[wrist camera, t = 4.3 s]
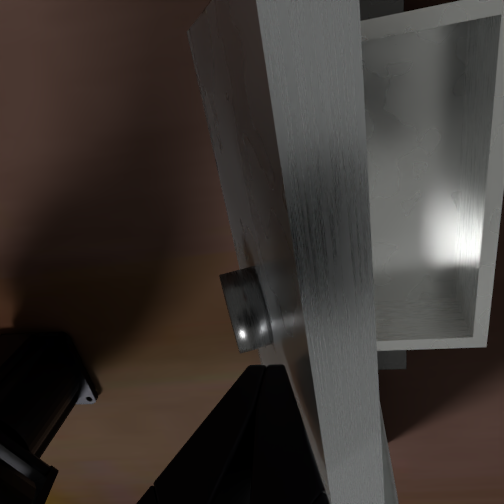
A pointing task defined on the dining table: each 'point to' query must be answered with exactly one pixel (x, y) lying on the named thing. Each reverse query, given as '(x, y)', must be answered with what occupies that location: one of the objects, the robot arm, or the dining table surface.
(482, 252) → the white rectangular box
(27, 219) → the dining table surface
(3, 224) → the dining table surface
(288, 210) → the lid
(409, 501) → the dining table surface
